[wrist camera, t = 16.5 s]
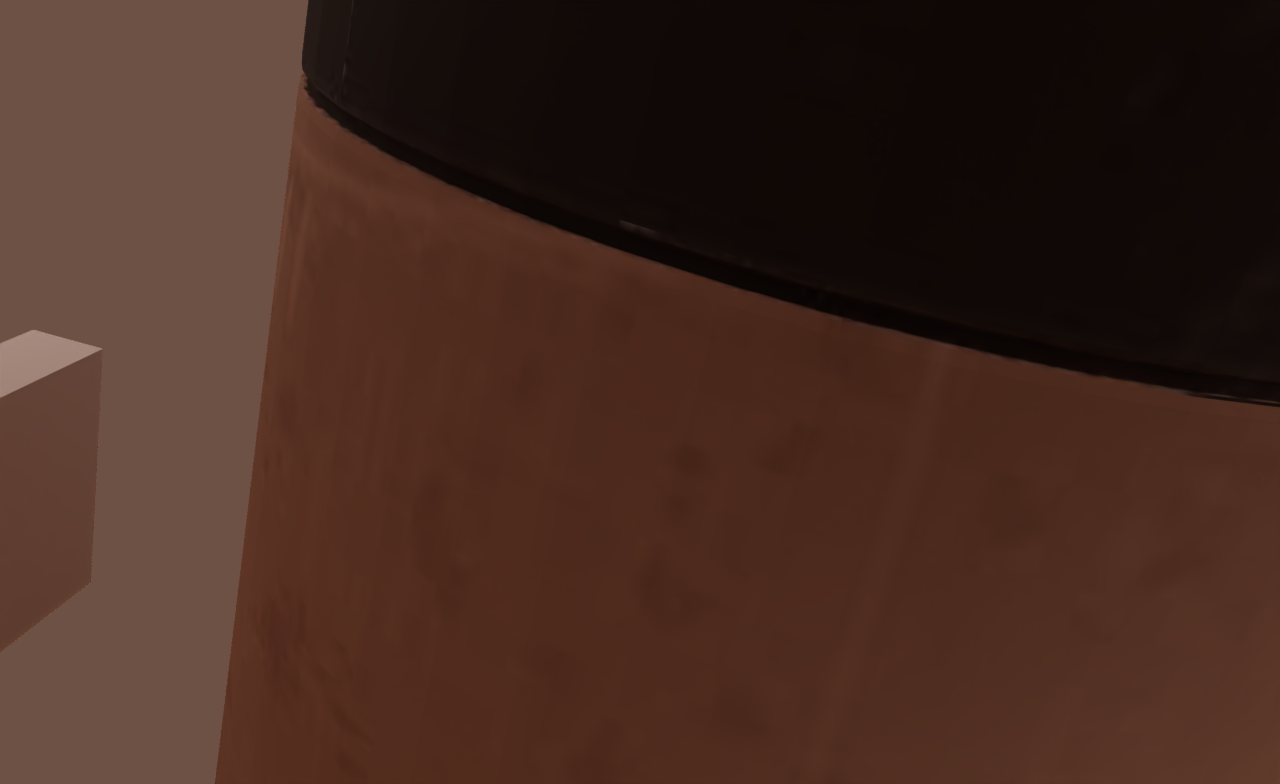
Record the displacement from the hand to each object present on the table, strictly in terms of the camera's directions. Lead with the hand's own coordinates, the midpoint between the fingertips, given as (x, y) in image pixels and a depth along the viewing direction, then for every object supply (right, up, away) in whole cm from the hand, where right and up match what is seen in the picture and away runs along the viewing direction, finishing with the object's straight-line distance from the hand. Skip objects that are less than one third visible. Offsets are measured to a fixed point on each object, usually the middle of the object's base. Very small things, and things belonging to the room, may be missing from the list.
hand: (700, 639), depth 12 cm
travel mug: (-3, -12, +3) cm, 13 cm away
